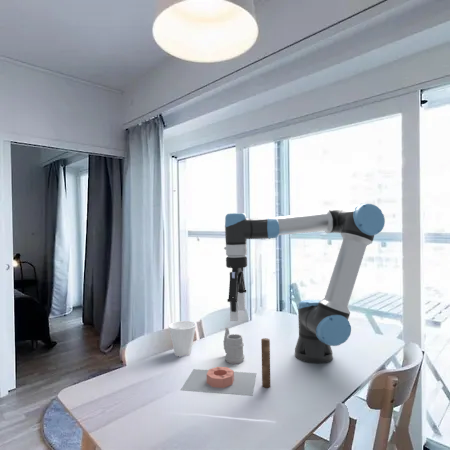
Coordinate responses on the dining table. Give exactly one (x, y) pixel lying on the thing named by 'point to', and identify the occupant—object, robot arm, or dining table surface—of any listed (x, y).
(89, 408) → the dining table surface
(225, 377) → the bead
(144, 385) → the dining table surface
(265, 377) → the brown wooden bar
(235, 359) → the mug
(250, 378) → the mat
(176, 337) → the cup
